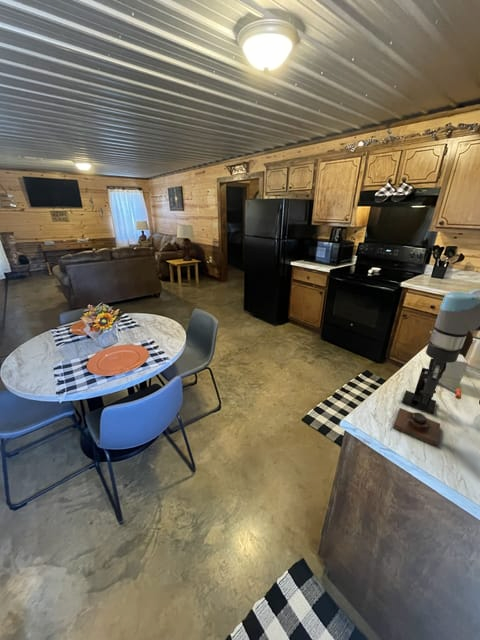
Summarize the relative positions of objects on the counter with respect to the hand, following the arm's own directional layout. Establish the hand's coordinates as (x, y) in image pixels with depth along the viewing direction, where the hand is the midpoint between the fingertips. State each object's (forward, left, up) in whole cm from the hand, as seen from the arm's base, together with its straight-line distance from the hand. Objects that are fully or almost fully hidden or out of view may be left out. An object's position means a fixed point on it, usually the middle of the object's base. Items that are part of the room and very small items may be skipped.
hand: (421, 409), depth 85 cm
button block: (0, 0, -8) cm, 8 cm away
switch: (-3, -15, +2) cm, 15 cm away
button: (0, 0, -5) cm, 5 cm away
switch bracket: (+1, -15, -8) cm, 17 cm away
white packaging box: (-6, -38, -8) cm, 39 cm away
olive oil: (-6, -54, -8) cm, 55 cm away
